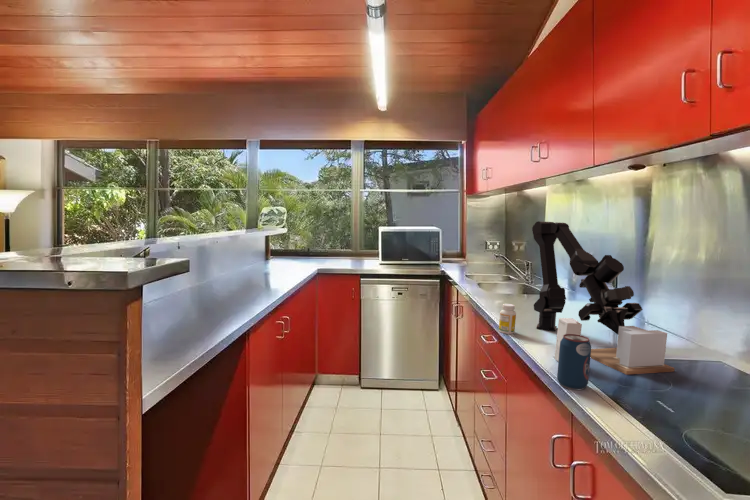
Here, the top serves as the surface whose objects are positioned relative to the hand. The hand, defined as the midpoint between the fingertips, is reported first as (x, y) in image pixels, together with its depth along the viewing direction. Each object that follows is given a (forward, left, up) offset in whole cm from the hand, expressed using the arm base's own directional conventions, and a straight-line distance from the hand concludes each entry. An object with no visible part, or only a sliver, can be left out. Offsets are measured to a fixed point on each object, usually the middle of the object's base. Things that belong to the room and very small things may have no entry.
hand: (623, 336), depth 130 cm
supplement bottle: (-13, -34, -7) cm, 37 cm away
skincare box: (+11, -14, -7) cm, 20 cm away
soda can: (+29, -12, -7) cm, 33 cm away
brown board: (+1, +1, -7) cm, 7 cm away
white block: (+3, +3, -6) cm, 7 cm away
